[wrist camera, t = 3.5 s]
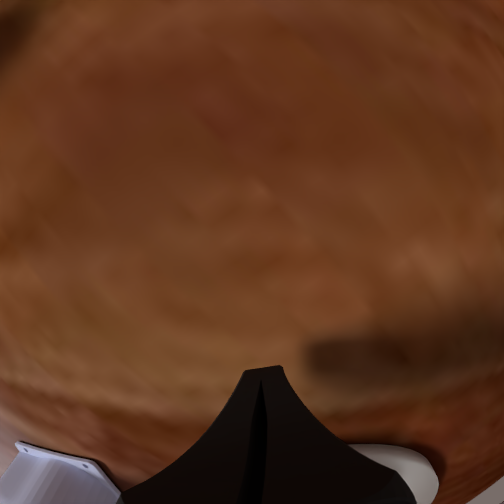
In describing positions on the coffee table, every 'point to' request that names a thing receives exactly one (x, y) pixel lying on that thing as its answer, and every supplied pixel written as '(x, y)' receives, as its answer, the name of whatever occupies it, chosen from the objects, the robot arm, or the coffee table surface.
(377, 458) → the turntable
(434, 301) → the coffee table surface
